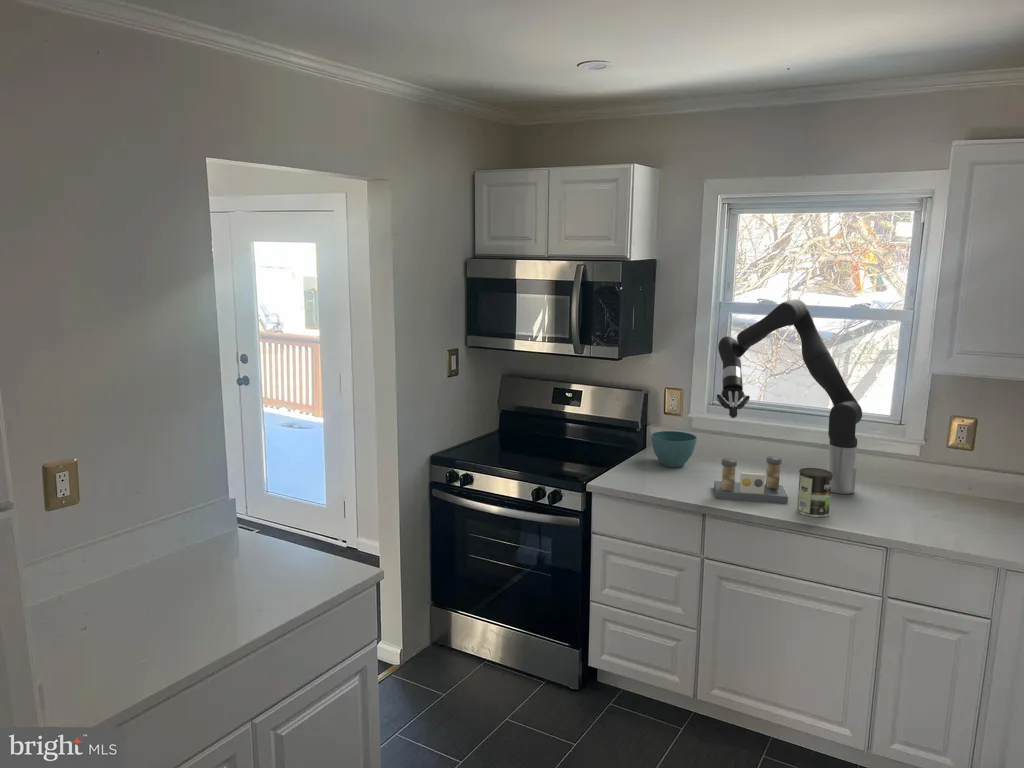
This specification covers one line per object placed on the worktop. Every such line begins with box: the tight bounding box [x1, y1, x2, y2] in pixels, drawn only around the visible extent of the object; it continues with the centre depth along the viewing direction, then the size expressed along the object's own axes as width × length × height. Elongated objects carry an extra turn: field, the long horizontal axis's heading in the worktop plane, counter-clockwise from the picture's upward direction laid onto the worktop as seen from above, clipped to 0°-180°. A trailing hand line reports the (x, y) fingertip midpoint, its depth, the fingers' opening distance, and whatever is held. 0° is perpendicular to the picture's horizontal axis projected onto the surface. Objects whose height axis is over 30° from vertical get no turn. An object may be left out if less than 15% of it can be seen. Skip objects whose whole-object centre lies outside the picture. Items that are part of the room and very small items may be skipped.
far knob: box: [721, 457, 738, 491], centre depth 262 cm, size 5×5×11 cm
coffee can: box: [796, 467, 833, 518], centre depth 247 cm, size 10×10×14 cm
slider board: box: [713, 471, 789, 504], centre depth 264 cm, size 24×13×10 cm, turn 78°
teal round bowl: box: [650, 430, 698, 468], centre depth 302 cm, size 18×18×12 cm
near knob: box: [765, 455, 783, 489], centre depth 265 cm, size 5×5×11 cm
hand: (733, 416), depth 282 cm, fingers closed
